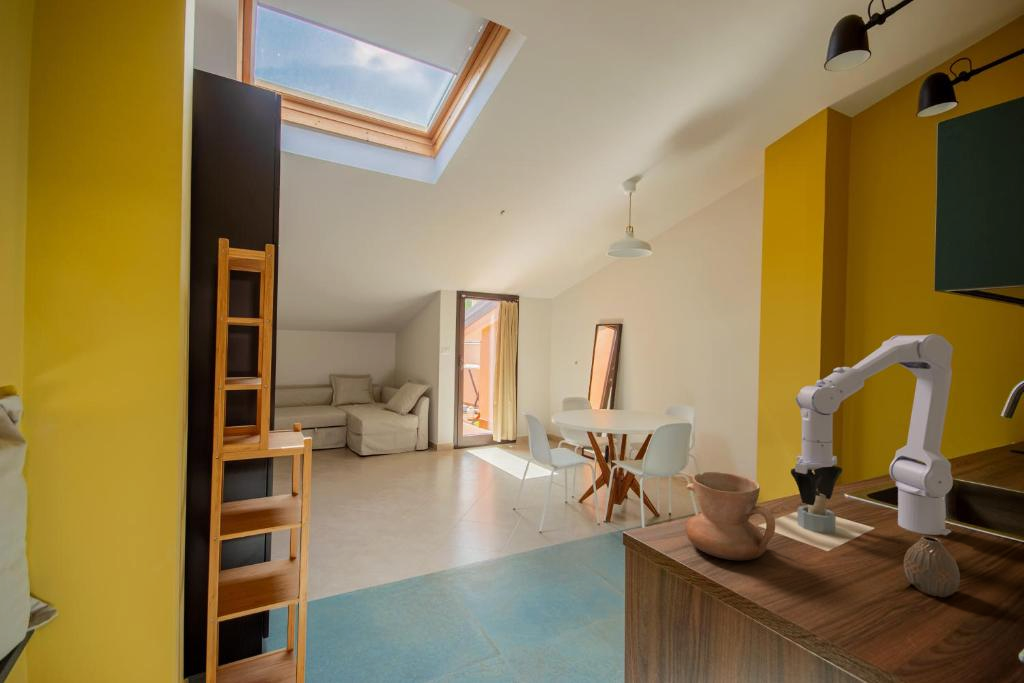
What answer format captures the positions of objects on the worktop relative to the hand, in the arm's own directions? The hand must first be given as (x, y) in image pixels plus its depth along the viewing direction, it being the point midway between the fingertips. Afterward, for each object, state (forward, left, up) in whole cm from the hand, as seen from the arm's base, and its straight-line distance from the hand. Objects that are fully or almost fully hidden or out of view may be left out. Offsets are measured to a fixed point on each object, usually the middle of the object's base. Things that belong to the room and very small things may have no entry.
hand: (816, 500), depth 99 cm
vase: (+10, +22, -7) cm, 25 cm away
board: (0, 0, -7) cm, 7 cm away
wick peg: (0, 0, -6) cm, 6 cm away
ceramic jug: (+27, -4, -7) cm, 28 cm away
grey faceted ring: (0, 0, -6) cm, 6 cm away
